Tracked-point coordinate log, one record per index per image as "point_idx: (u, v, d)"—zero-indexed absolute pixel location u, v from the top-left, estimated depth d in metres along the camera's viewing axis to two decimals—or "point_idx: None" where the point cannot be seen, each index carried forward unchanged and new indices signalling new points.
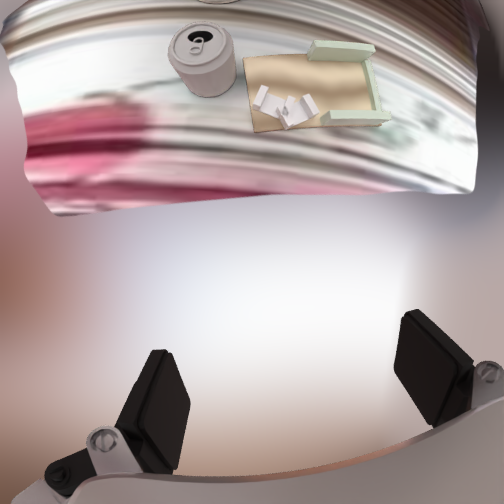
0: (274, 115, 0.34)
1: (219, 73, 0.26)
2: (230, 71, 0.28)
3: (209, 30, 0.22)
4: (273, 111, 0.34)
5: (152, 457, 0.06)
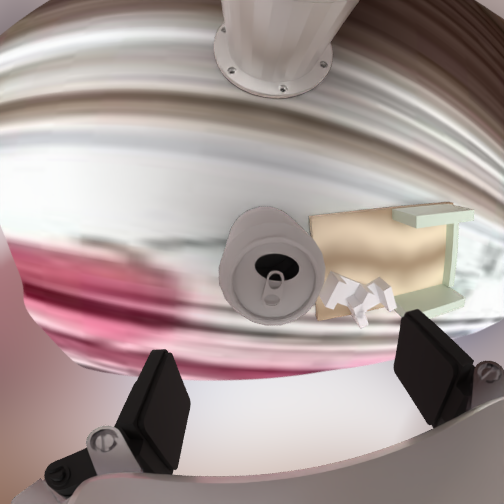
0: (343, 303, 0.29)
1: None
2: None
3: (292, 254, 0.17)
4: (343, 299, 0.29)
5: (152, 457, 0.06)
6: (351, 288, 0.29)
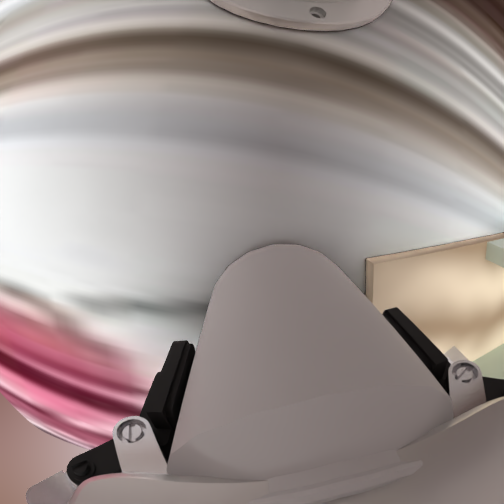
0: None
1: None
2: None
3: None
4: None
5: None
6: None
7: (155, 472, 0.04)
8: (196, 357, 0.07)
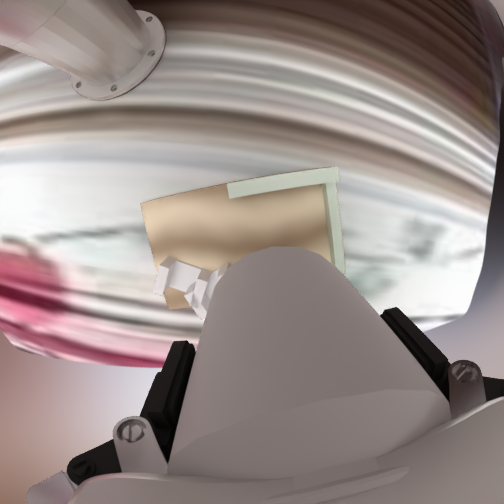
0: None
1: None
2: None
3: None
4: (186, 286, 0.28)
5: None
6: (192, 275, 0.27)
7: (155, 472, 0.04)
8: (196, 360, 0.07)
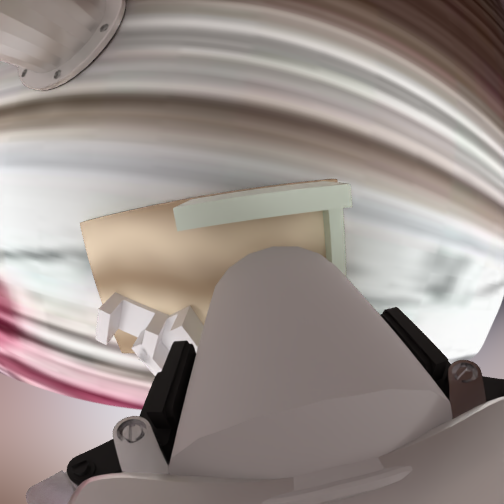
0: None
1: None
2: None
3: None
4: (138, 331, 0.20)
5: None
6: (145, 318, 0.20)
7: (155, 472, 0.04)
8: (197, 360, 0.07)
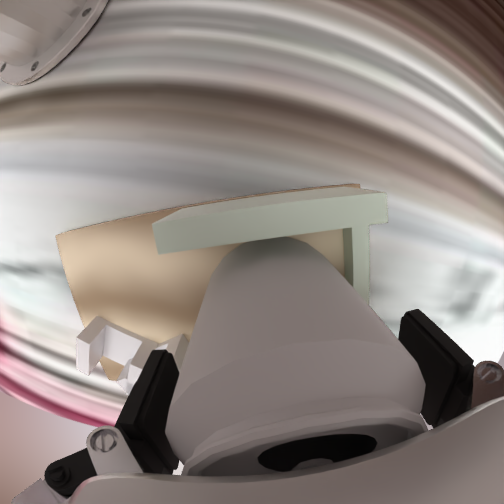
0: None
1: None
2: None
3: (369, 428, 0.04)
4: (125, 359, 0.17)
5: (152, 457, 0.06)
6: (131, 346, 0.16)
7: None
8: (194, 331, 0.09)
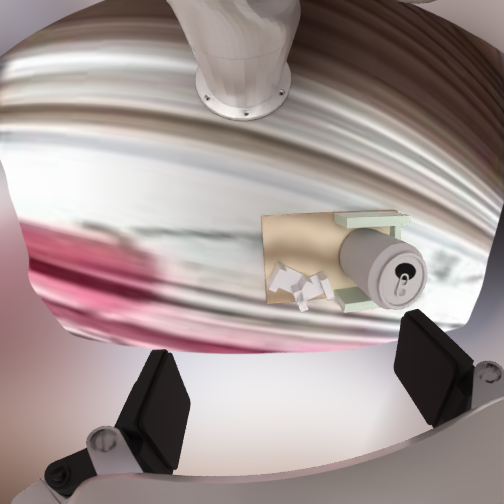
0: (288, 290, 0.36)
1: None
2: None
3: (414, 263, 0.24)
4: (288, 286, 0.36)
5: (152, 457, 0.06)
6: (295, 278, 0.36)
7: None
8: (362, 251, 0.28)
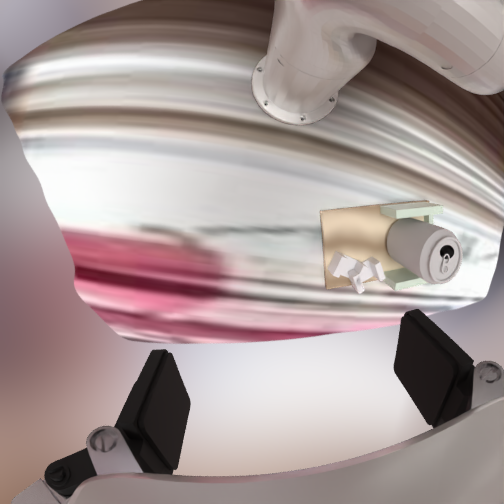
0: (345, 275, 0.40)
1: None
2: None
3: (453, 245, 0.27)
4: (345, 272, 0.39)
5: (152, 457, 0.06)
6: (351, 264, 0.39)
7: None
8: (411, 237, 0.32)
